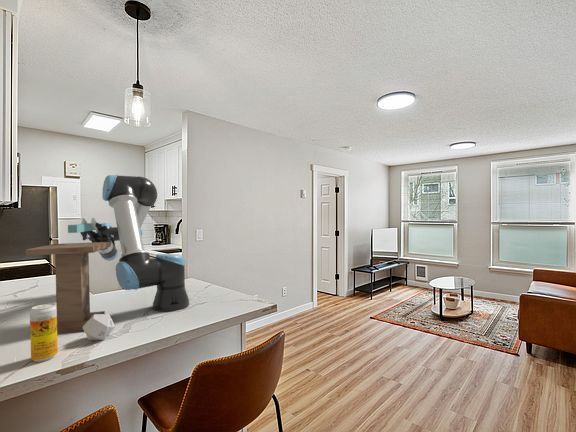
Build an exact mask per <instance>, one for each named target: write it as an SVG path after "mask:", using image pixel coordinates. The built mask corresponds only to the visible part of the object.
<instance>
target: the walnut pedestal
mask: <svg viewBox="0 0 576 432" xmlns="http://www.w3.org/2000/svg"><path fill="white" fill-rule="evenodd" d="M108 247H110V242H92V241H91V242H71V243H70V242H68V243H51V244H47V245H42V246H37V247H32V248H27V249H25V256H46V255H50V256H51V255H52V256H53V255H54V262H55V263H54V266H55V301H56V305H55V307H56V308H57V335H59V334H66V333H67V334H69V333H77V332H78V333H79V332H84V330H83V328H82V327H83V326H84V325H85V324H86V323H87V321H88V320H89V319H90V318H91V317H92V316H93V315H94V314H106V311H105V310H102V311H101V310H100V311H91V303H90V301H91V300H90V298H91V297H90V295H91V294H90V263H89V261H90V259H89V254H91V253H92V254H93V253H96V252H98V251H99V250H102V249H105V248H108Z"/></svg>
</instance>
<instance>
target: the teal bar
mask: <svg viewBox="0 0 576 432" xmlns="http://www.w3.org/2000/svg"><path fill="white" fill-rule="evenodd" d="M91 230H92V231H96V230H95V229H94V227H93V226H92V224H91V222H89V223H88V222H87V223H86V224H81V223H78V224H77V223H76V224H67V234H75V233H76V234H77V233H80V232H85V231H91ZM97 230H98V229H97Z"/></svg>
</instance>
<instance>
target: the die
mask: <svg viewBox="0 0 576 432" xmlns="http://www.w3.org/2000/svg"><path fill="white" fill-rule="evenodd" d="M82 328H83V330H84V331H83V332H84V334H85V336H86V337H87V340H88V341H105V340H106V339H107V338H108V337H109V335H111V333H112V332H113V330H114V329H115V328H116V325H115V323H114V321H113V319H112V317H111V315H110V313H105V314H94V315H93V316H92V317H91V318H90V319H89V320H88V321H87V323H86V324H85V325H84V326H83V327H82Z"/></svg>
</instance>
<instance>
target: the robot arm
mask: <svg viewBox="0 0 576 432" xmlns="http://www.w3.org/2000/svg"><path fill="white" fill-rule="evenodd" d="M103 180H104V181H103V185H102V196H101V197H102V200H103V201H105V202H108V205H109V207H111V208H113V212H114V218H115V224H116V227H115V226H114V227H113V226H112V224H111V223H109V222H103V223H100V222H97V221H96V219H95V218H94V217H92V218H91V221H90V223H91V224H92V226H93V227H94V229H95V230H91V231H85V232H79V233H80V236H81V237H82V241H86V240H88V241H89V242H91V243H92V242H110V247H108V248H105V249H102V250H99V251H97V252H98V253H99V255H100V256H101V258H103V260H104V261H107V262H110V261H113V260H116V258H117V257H118V254H119V252H118V249H117V248H116V243H115V242H118V241H119V245H120V251H121V256H120V258H119V259H118V262H117V263H116V265H115V275H116V276H115V277H116V279H117V280H116V281H117V283H118V284H119V287H120V288H121V289H123V290H125V291H130V290H132V291H133V290H139V289H143V288H149V287H154V286H155V287H156V293H155V296H154V299H153V302H152V309H153V311H156V312H174V311H179V310H183V309H185V308H187V307H189V305H190V298H189V296H188V293H187V290H186V286H185V285H186V281H185V280H186V279H185V277H186V275H185V274H186V273H185V271H186V269H185V266H186V265H185V258H184V256H183V255H180V254H173V253H172V254H171V253H158V254H156V256H155V258H151V255H150V253H149V252H147V251H146V250H145V247H144V242H143V229H142V227H143V224H144V221H145V220H146V217H147V215H148V213H149V211H150V210H151V207H153V206H154V205H155V203H156V202H157V199H158V190H157V187H156V185H155V184H154V183H153V181H151V180H150V179H149V178H147V177H145V176H135V175H133V176H130V175H118V174H108V175H107V176H105V178H104V179H103ZM86 223H88V221H87V220H86V219H85V217H82V218H81V223H80V224H86ZM97 229H98V230H97Z"/></svg>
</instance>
